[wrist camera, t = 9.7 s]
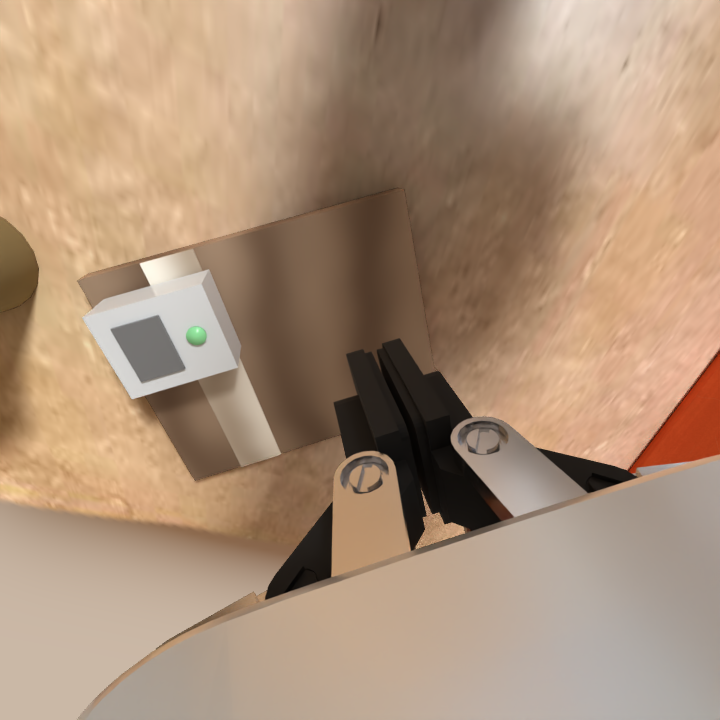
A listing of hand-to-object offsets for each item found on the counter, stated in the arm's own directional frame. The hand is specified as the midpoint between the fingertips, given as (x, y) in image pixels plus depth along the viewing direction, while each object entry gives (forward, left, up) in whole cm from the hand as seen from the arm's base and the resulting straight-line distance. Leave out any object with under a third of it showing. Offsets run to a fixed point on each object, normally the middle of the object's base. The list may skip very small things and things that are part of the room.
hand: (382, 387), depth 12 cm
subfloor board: (+4, +4, -16) cm, 17 cm away
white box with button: (+9, 0, -14) cm, 17 cm away
